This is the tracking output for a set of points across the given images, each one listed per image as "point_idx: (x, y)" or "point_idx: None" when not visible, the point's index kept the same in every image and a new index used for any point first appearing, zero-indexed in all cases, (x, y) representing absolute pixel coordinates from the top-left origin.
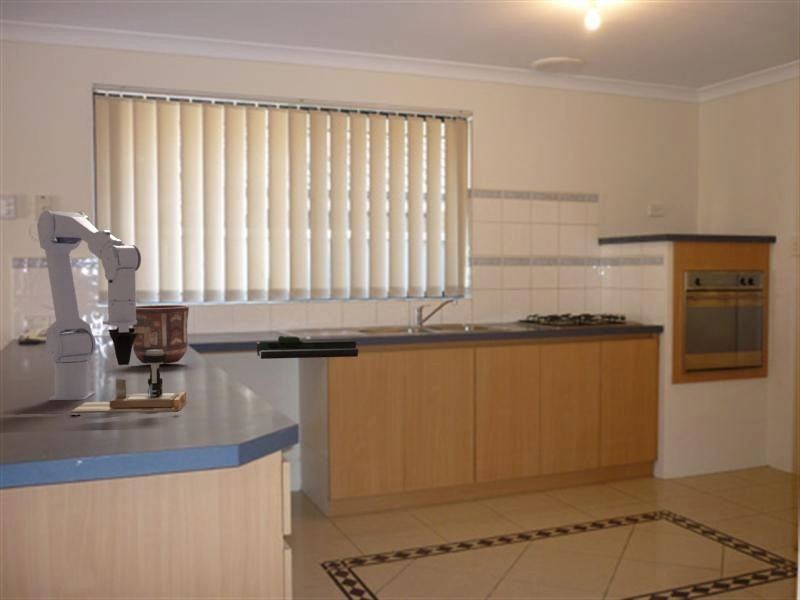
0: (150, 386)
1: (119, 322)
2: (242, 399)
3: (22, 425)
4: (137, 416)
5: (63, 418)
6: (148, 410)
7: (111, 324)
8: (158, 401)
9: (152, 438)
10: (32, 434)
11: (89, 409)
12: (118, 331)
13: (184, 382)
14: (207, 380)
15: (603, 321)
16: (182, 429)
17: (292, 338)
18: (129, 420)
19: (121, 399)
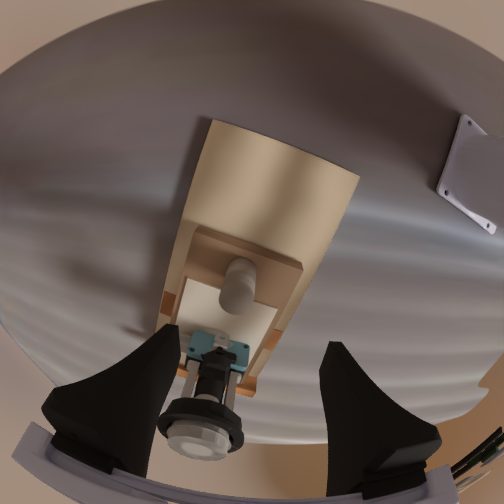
0: (187, 350)
1: (71, 497)
2: (261, 433)
3: (149, 26)
4: (150, 273)
5: (192, 102)
6: (161, 302)
7: (119, 498)
8: None
9: (6, 257)
10: (58, 70)
11: (222, 170)
12: (357, 471)
13: (471, 380)
14: (457, 403)
15: None
16: (43, 306)
17: (486, 458)
18: (112, 250)
19: (206, 265)
